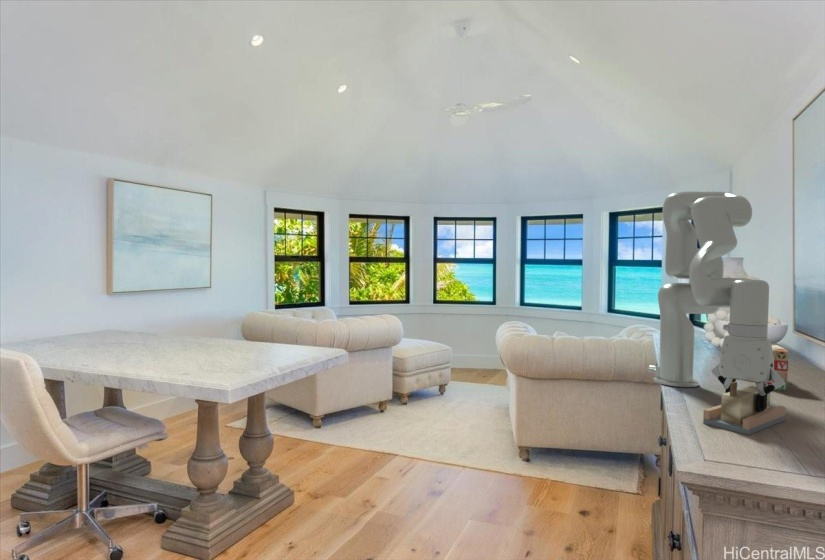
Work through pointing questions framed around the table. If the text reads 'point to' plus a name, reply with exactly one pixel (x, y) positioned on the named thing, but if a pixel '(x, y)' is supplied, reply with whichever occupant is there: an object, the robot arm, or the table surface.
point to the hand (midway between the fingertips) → (745, 407)
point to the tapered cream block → (740, 403)
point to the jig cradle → (745, 420)
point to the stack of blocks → (780, 365)
